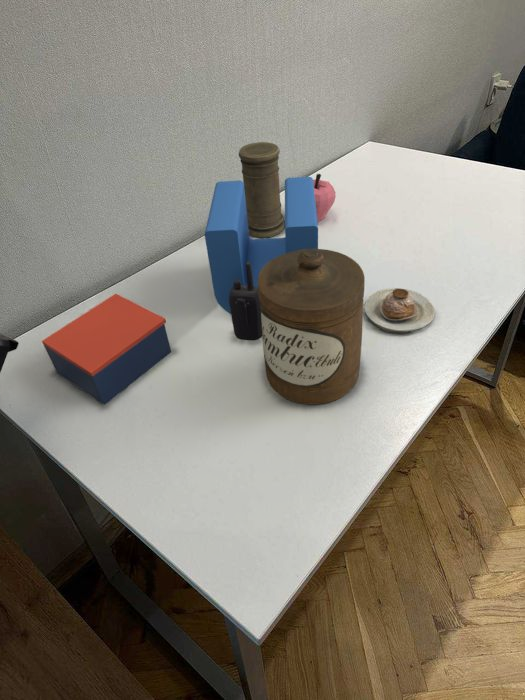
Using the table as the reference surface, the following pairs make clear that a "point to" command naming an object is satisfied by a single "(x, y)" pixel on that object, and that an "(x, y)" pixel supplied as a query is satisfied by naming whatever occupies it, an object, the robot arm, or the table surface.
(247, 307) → the two-way radio
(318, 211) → the apple
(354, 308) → the wooden container
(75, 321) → the lid
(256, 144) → the container
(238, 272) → the block
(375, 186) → the table surface
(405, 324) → the pastry
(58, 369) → the box
